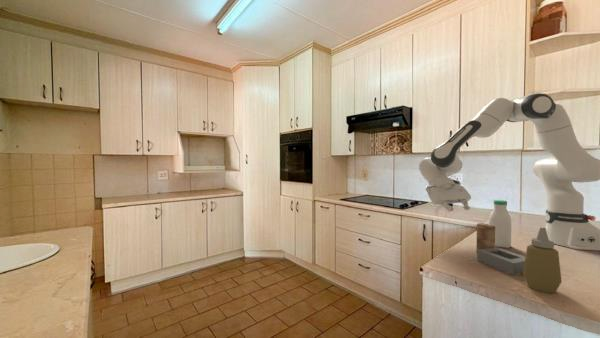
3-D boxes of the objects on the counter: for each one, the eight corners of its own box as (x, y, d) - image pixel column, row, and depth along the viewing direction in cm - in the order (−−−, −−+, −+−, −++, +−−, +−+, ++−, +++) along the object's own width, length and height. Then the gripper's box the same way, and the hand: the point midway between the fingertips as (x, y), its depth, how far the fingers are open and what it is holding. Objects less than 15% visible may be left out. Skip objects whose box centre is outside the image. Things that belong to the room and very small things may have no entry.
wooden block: (476, 252, 99) (476, 223, 98) (481, 251, 99) (482, 222, 99) (488, 257, 94) (489, 226, 93) (494, 256, 95) (495, 226, 94)
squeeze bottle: (566, 299, 65) (568, 233, 65) (526, 290, 70) (528, 229, 69) (555, 286, 72) (557, 226, 71) (519, 279, 76) (520, 223, 76)
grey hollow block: (477, 260, 91) (477, 250, 90) (496, 257, 93) (497, 247, 93) (513, 275, 79) (513, 263, 79) (534, 271, 82) (534, 259, 82)
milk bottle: (511, 249, 101) (512, 202, 101) (488, 245, 106) (489, 200, 105) (510, 244, 108) (511, 200, 107) (488, 241, 112) (489, 198, 111)
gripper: (427, 182, 111) (445, 207, 102) (462, 181, 117) (481, 204, 108) (420, 190, 116) (436, 215, 106) (453, 189, 121) (472, 212, 112)
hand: (459, 210), depth 107 cm, fingers open, 8 cm apart
